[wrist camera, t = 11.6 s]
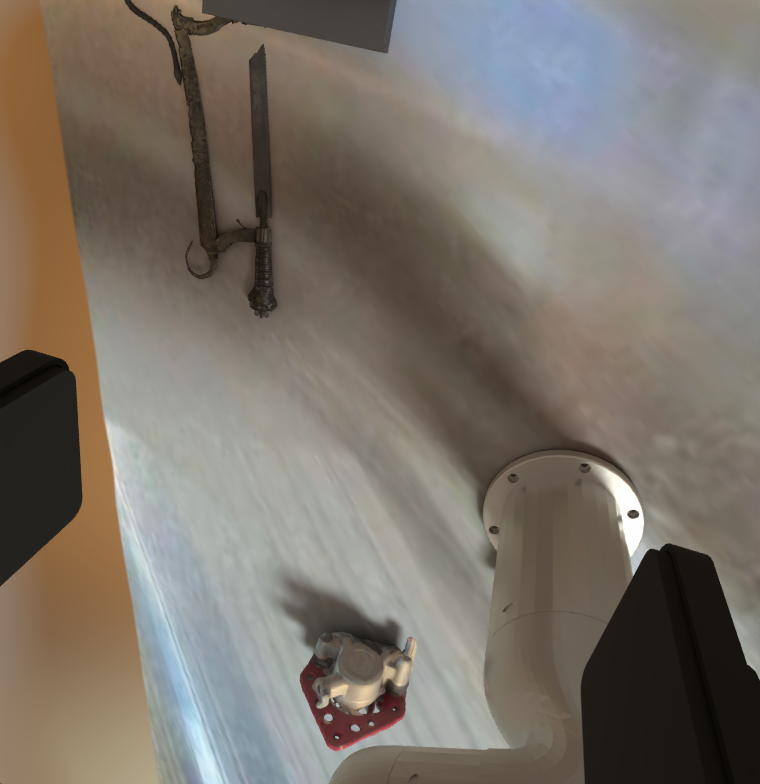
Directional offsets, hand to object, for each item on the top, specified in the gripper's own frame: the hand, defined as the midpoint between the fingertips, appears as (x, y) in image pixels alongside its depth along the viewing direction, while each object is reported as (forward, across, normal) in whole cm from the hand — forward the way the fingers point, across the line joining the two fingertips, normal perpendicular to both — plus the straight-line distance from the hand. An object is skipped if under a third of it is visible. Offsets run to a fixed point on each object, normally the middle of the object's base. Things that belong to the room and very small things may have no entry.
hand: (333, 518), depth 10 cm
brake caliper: (+37, +1, +48) cm, 60 cm away
